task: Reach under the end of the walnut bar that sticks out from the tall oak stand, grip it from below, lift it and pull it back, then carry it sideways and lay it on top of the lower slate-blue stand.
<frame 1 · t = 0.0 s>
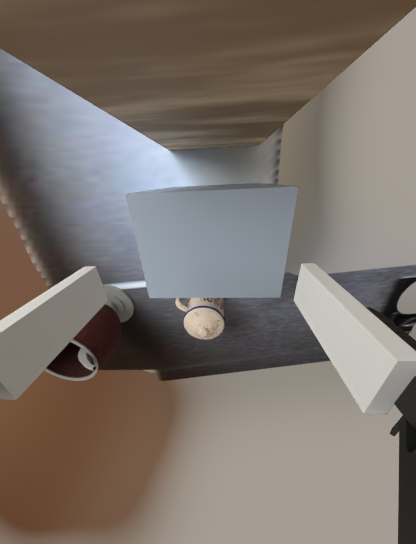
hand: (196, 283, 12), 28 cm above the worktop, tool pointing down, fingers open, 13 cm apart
slate base: (215, 217, 37), on the worktop
teacup with lid: (201, 297, 47), on the worktop
mate gourd: (114, 303, 49), on the worktop
oak stand: (212, 102, 29), on the worktop
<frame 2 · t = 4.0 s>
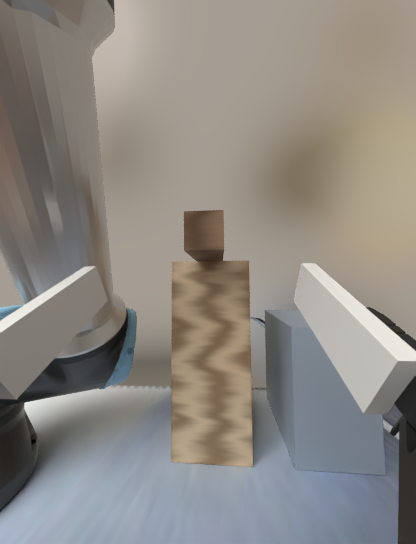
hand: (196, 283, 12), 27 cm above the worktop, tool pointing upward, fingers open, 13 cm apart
walnut bar: (210, 263, 31), point 30 cm above the worktop, touching oak stand
slate base: (311, 426, 33), on the worktop
oak stand: (213, 421, 34), on the worktop
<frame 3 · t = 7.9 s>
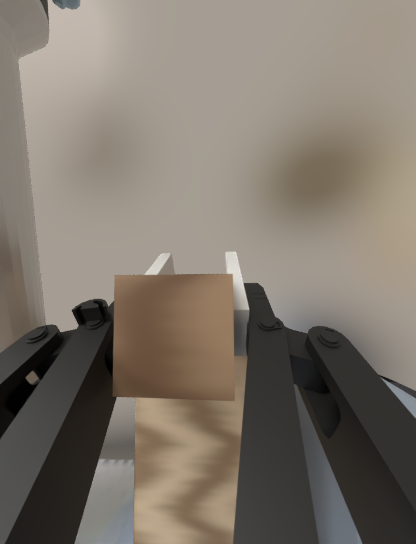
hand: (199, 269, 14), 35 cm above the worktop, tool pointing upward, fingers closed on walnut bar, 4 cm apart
walnut bar: (205, 317, 19), point 30 cm above the worktop, touching gripper, oak stand
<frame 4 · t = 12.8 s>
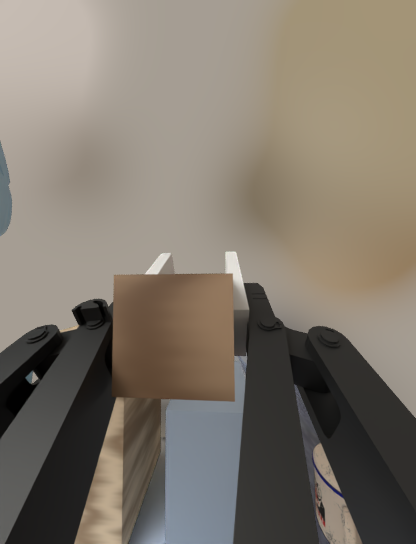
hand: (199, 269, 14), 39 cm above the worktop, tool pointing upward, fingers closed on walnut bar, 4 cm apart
walnut bar: (205, 317, 19), point 34 cm above the worktop, touching gripper
slate base: (212, 497, 31), on the worktop
teacup with lid: (349, 542, 26), on the worktop
oak stand: (113, 490, 32), on the worktop
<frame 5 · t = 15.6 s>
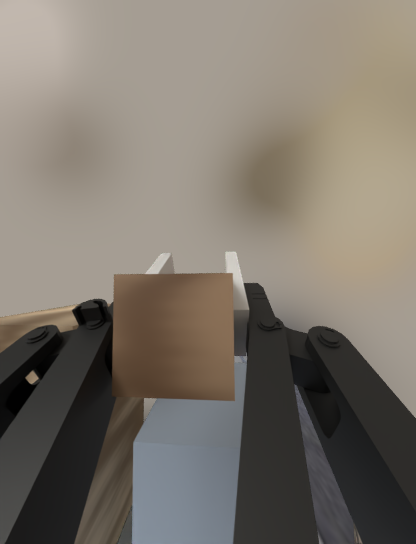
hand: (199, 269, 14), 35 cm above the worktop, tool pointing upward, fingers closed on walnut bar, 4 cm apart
walnut bar: (205, 317, 19), point 30 cm above the worktop, touching gripper
oak stand: (72, 540, 24), on the worktop
when the fingers open (26 cm above the worktop, at t = 18.1 s): walnut bar drops 1 cm, resting on slate base.
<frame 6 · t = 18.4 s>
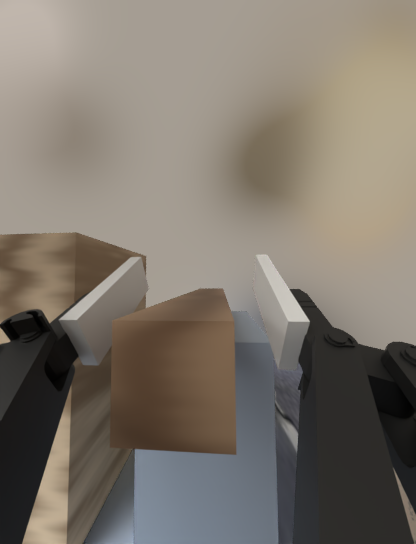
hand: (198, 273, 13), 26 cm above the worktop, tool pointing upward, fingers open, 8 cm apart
walnut bar: (205, 332, 19), point 20 cm above the worktop, touching slate base
slate base: (210, 482, 23), on the worktop
oak stand: (74, 473, 24), on the worktop
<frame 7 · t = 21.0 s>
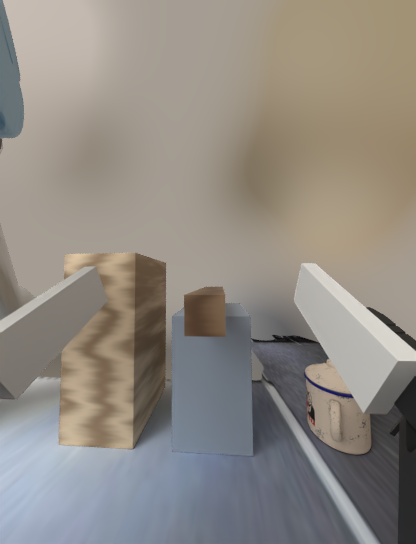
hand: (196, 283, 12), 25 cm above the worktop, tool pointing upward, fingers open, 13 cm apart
walnut bar: (211, 312, 30), point 20 cm above the worktop, touching slate base
slate base: (213, 413, 34), on the worktop
teacup with lid: (337, 439, 29), on the worktop
oak stand: (123, 409, 36), on the worktop
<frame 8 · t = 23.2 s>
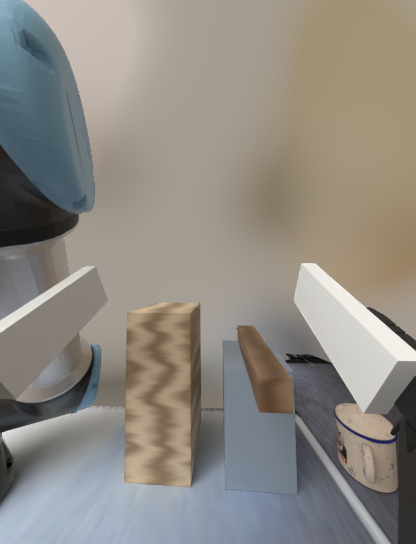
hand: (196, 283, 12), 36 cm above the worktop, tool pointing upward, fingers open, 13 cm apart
walnut bar: (255, 363, 34), point 20 cm above the worktop, touching slate base
slate base: (252, 448, 38), on the worktop
teacup with lid: (366, 475, 33), on the worktop
oak stand: (169, 443, 40), on the worktop
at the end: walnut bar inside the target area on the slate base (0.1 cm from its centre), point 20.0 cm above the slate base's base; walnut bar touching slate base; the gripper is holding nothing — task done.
